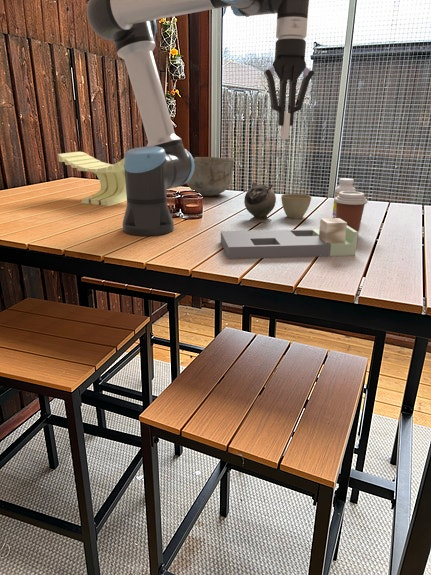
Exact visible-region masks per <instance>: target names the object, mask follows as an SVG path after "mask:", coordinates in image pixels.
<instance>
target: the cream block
mask: <svg viewBox="0 0 431 575" xmlns="http://www.w3.org/2000/svg"><path fill="white" fill-rule="evenodd" d="M319 221H320V222H319V229H320V230H319V238H320V239H321V240H322V241H324V242H325V243H343V242H345V236H346V228H347V222H345V221H343V220H342V219H340V218H334V217H333V218H332V217H331V218H329V217H327V218H320V220H319Z"/></svg>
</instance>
